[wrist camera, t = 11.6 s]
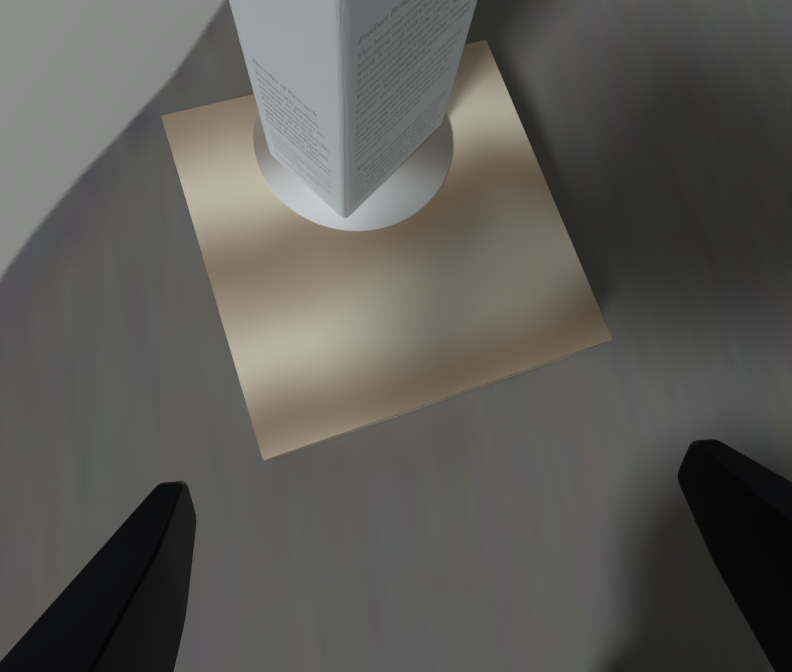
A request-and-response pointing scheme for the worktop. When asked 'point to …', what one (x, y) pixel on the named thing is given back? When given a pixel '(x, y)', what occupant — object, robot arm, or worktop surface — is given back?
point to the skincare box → (350, 84)
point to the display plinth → (383, 267)
